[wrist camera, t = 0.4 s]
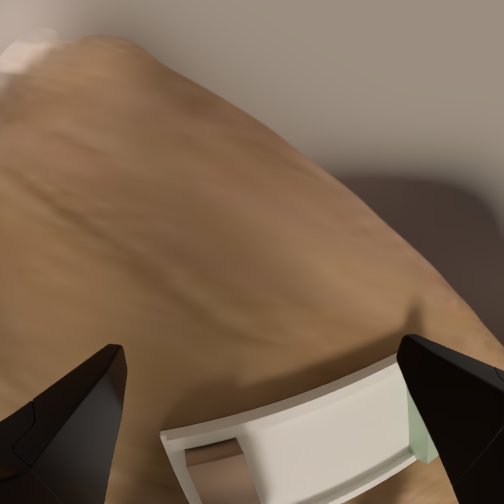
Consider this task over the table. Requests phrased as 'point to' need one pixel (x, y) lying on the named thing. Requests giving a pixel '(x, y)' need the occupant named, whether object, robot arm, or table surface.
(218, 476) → the block
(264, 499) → the track
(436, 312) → the table surface
